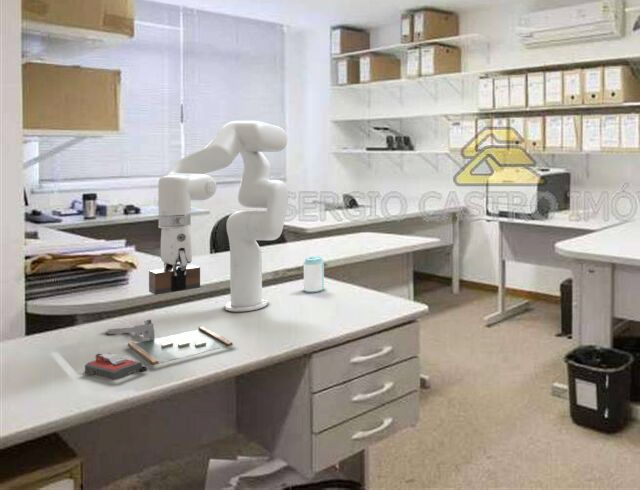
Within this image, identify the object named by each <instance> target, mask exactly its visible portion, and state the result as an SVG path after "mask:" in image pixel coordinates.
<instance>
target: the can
mask: <svg viewBox="0 0 640 490" xmlns="http://www.w3.org/2000/svg"><path fill="white" fill-rule="evenodd" d="M324 289H325V261H324V260H323V257H321V256H309V257H305V260H304V262H303V291H305V292H306V293H319V292H321V291H323V290H324Z"/></svg>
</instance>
